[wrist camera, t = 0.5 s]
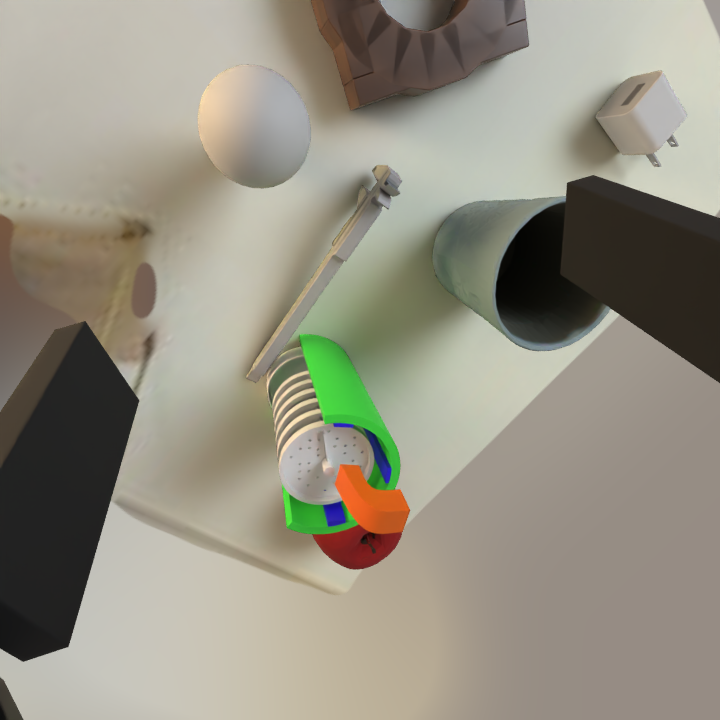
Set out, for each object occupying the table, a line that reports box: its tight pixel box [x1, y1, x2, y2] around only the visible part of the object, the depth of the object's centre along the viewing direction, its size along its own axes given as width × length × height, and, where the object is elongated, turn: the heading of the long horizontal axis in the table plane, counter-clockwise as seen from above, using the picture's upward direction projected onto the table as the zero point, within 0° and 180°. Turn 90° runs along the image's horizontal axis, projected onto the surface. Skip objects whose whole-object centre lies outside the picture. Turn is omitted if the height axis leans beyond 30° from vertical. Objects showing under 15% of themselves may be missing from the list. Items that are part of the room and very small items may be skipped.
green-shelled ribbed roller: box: [266, 334, 410, 534], centre depth 33 cm, size 9×8×18 cm
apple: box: [312, 489, 402, 569], centre depth 42 cm, size 9×9×10 cm
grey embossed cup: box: [432, 196, 611, 351], centre depth 34 cm, size 10×10×12 cm
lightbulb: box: [198, 64, 311, 188], centre depth 27 cm, size 6×6×11 cm
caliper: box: [246, 165, 402, 383], centre depth 36 cm, size 21×1×6 cm, turn 146°
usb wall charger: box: [596, 70, 687, 167], centre depth 37 cm, size 4×7×4 cm, turn 50°
